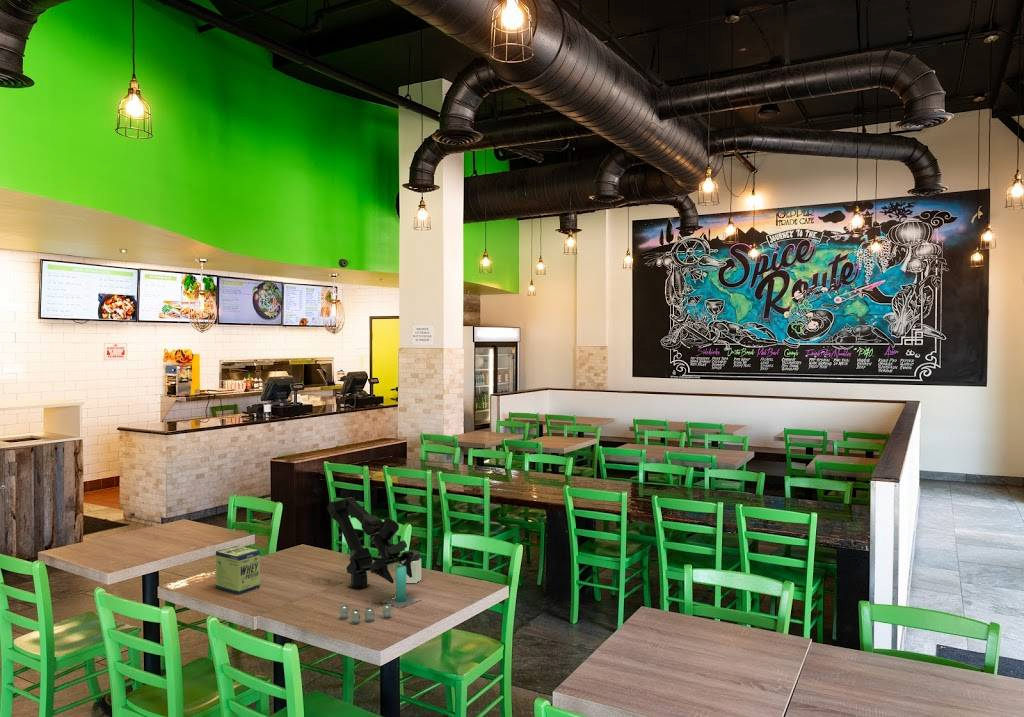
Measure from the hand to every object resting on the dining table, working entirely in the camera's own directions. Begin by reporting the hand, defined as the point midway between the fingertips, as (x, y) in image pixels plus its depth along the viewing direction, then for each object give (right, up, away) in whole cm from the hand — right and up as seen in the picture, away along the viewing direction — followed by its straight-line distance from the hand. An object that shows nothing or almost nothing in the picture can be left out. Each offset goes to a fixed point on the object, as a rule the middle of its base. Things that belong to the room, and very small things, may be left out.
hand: (402, 580), depth 273 cm
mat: (-1, -8, +1) cm, 8 cm away
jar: (0, -9, +26) cm, 27 cm away
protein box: (-71, -9, +17) cm, 73 cm away
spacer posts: (-11, -8, -16) cm, 22 cm away
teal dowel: (-1, -8, +1) cm, 8 cm away
